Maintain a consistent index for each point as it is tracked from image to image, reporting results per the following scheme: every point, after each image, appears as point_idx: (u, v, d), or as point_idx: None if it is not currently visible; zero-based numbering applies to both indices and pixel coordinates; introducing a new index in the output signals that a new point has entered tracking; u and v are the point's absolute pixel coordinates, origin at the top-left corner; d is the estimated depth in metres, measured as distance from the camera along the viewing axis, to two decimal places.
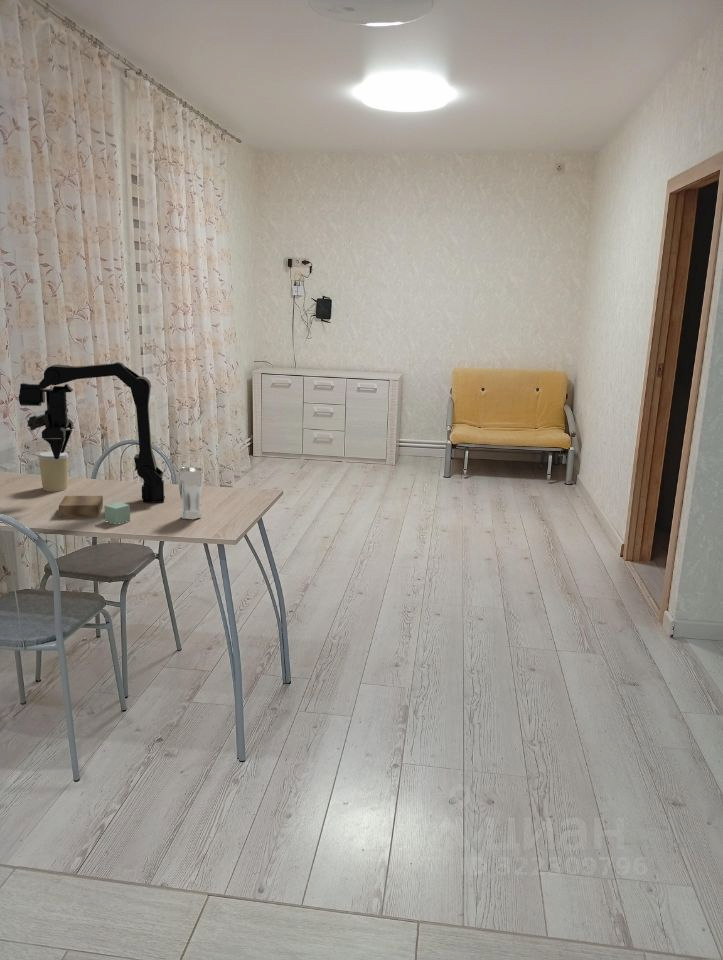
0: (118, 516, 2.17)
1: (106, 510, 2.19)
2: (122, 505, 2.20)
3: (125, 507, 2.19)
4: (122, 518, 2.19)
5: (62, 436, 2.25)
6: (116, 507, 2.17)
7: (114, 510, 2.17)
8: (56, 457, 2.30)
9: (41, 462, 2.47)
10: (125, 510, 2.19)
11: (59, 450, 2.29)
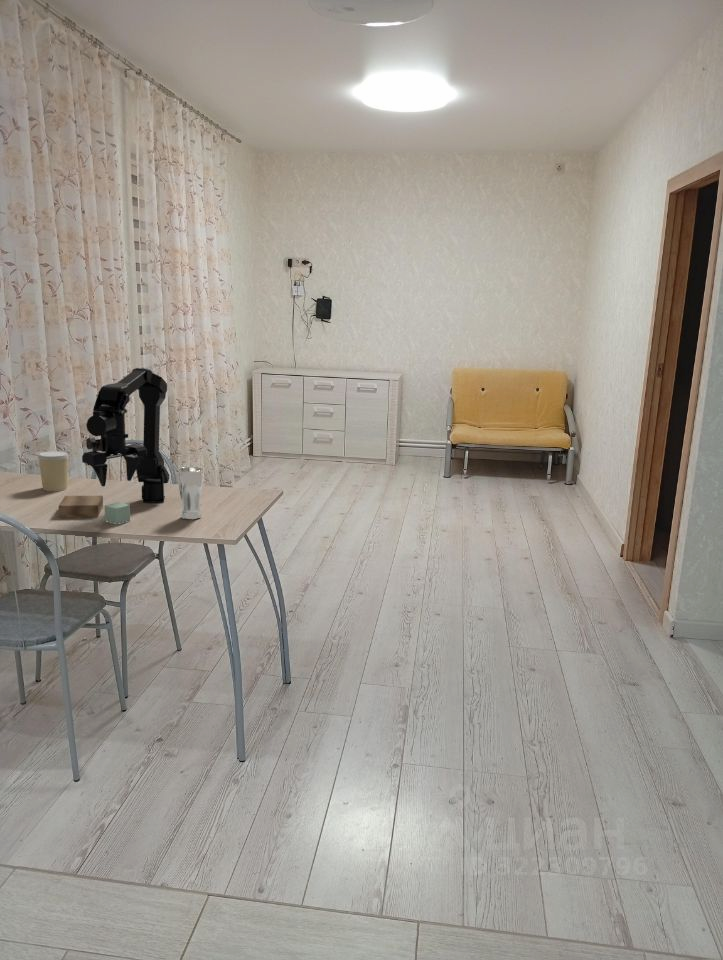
0: (118, 516, 2.17)
1: (106, 510, 2.19)
2: (122, 505, 2.20)
3: (125, 507, 2.19)
4: (122, 518, 2.19)
5: (95, 463, 2.07)
6: (116, 507, 2.17)
7: (114, 510, 2.17)
8: (102, 484, 2.14)
9: (41, 462, 2.47)
10: (125, 510, 2.19)
11: (102, 477, 2.12)
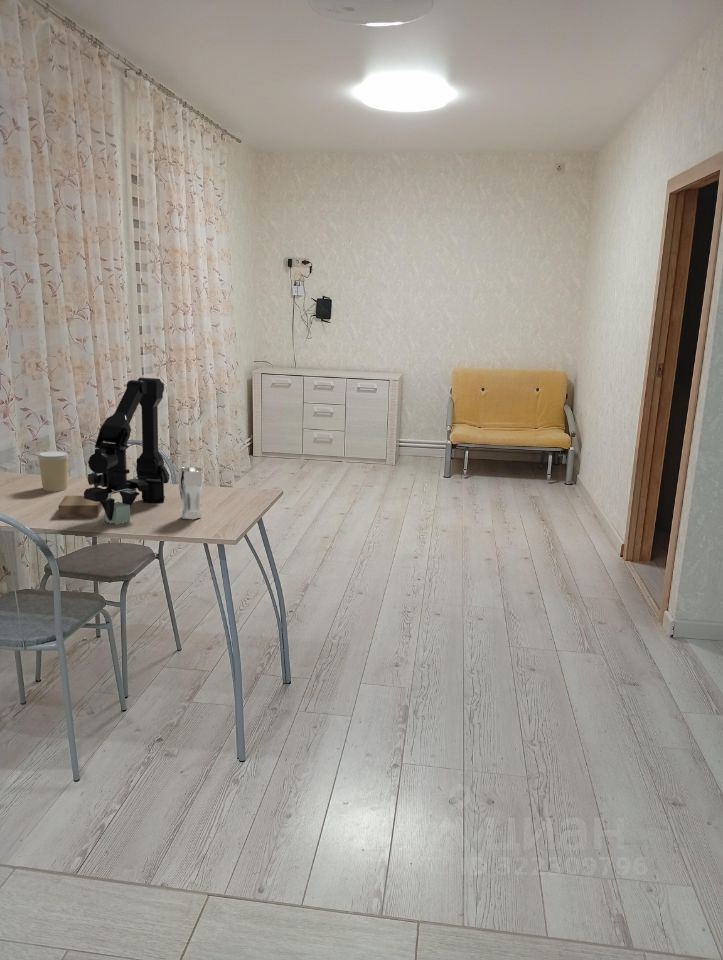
0: (118, 516, 2.17)
1: None
2: (122, 505, 2.20)
3: (125, 506, 2.19)
4: (122, 518, 2.19)
5: (97, 499, 2.10)
6: (116, 507, 2.17)
7: (114, 510, 2.17)
8: (109, 518, 2.18)
9: (41, 462, 2.47)
10: (125, 509, 2.19)
11: (109, 511, 2.16)
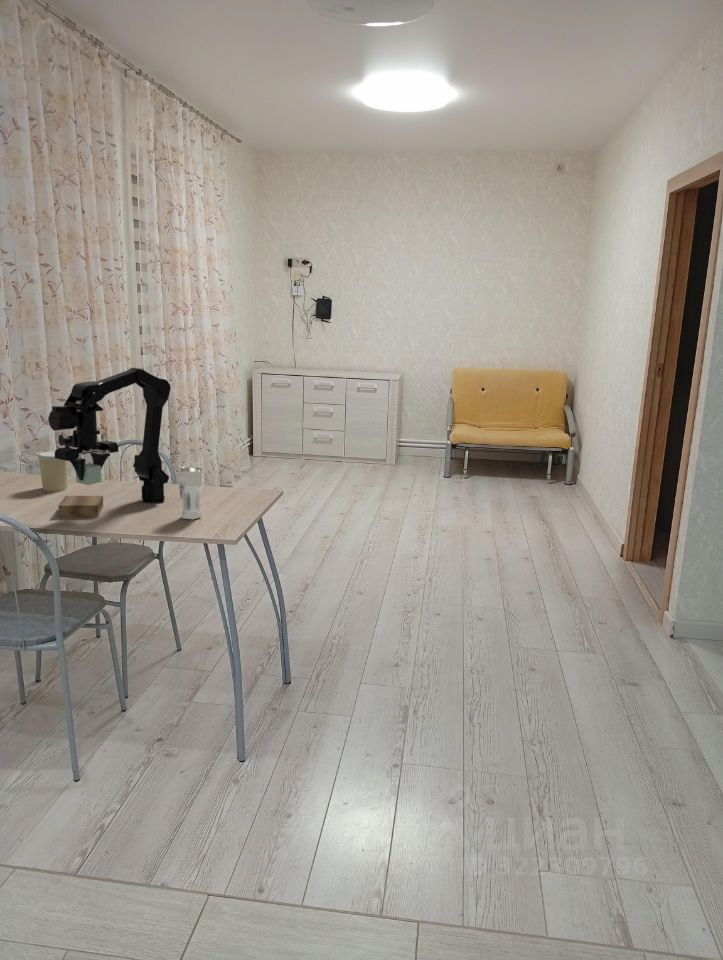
0: (89, 476, 2.21)
1: None
2: (93, 465, 2.23)
3: (96, 467, 2.22)
4: (93, 478, 2.22)
5: (67, 458, 2.13)
6: (87, 467, 2.21)
7: (85, 470, 2.20)
8: (80, 478, 2.21)
9: (41, 462, 2.47)
10: (96, 470, 2.22)
11: (80, 471, 2.19)
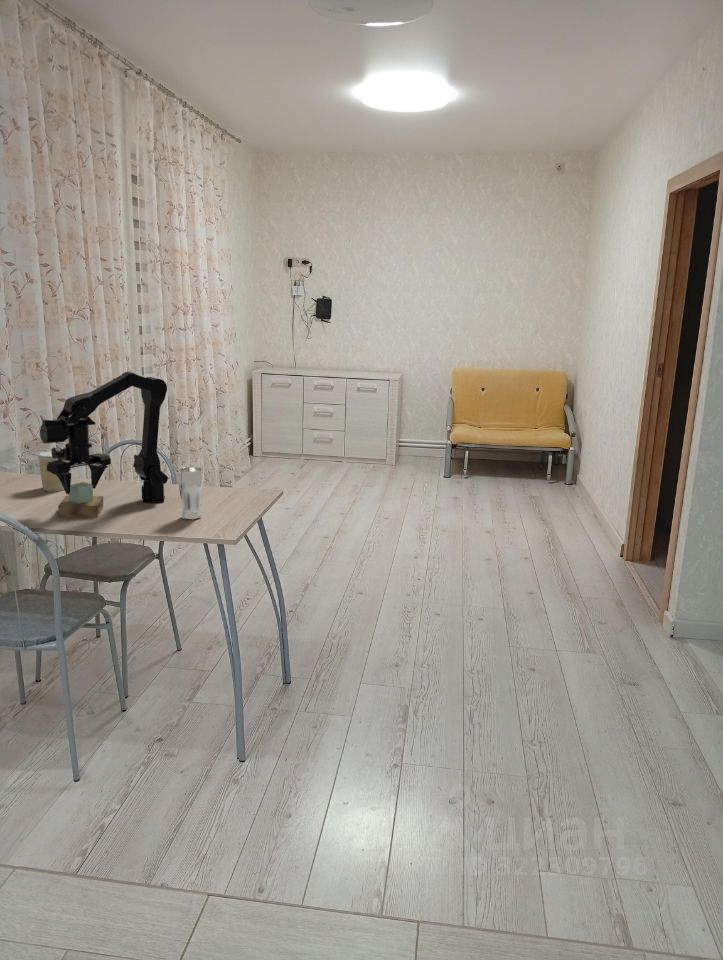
0: (80, 495, 2.24)
1: None
2: (85, 484, 2.26)
3: (87, 486, 2.26)
4: (85, 497, 2.26)
5: (59, 472, 2.16)
6: (79, 486, 2.24)
7: (77, 489, 2.23)
8: (67, 492, 2.23)
9: (41, 462, 2.47)
10: (88, 489, 2.26)
11: (66, 485, 2.21)
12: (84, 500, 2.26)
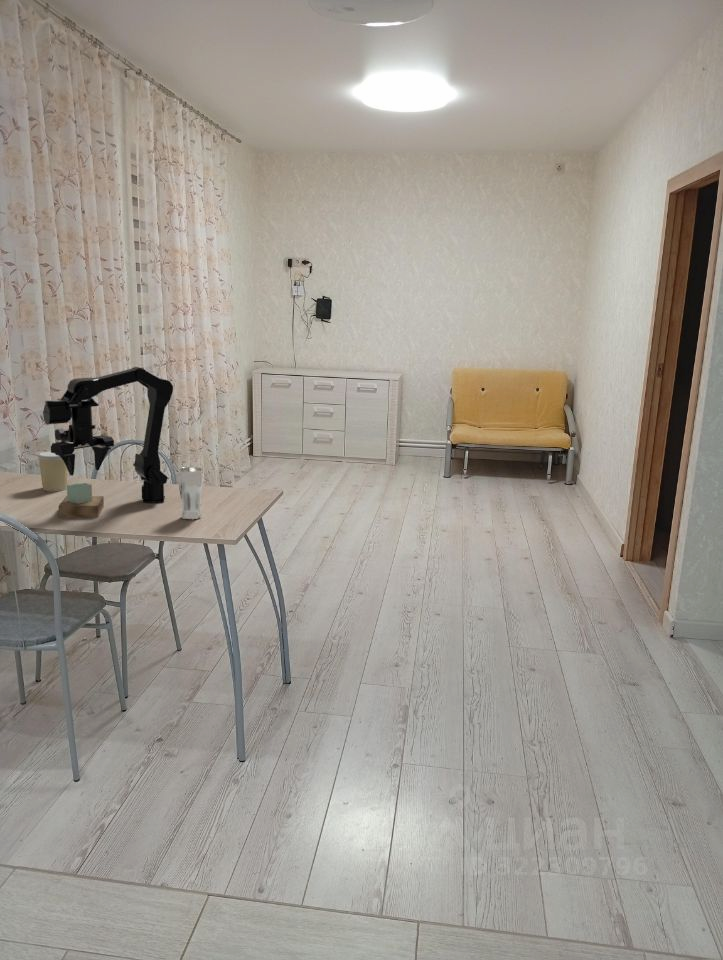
0: (80, 495, 2.24)
1: (68, 489, 2.25)
2: (84, 484, 2.26)
3: (86, 486, 2.26)
4: (84, 497, 2.26)
5: (63, 453, 2.17)
6: (78, 486, 2.24)
7: (76, 489, 2.23)
8: (71, 473, 2.24)
9: (41, 462, 2.47)
10: (87, 489, 2.26)
11: (70, 467, 2.22)
12: (83, 500, 2.26)
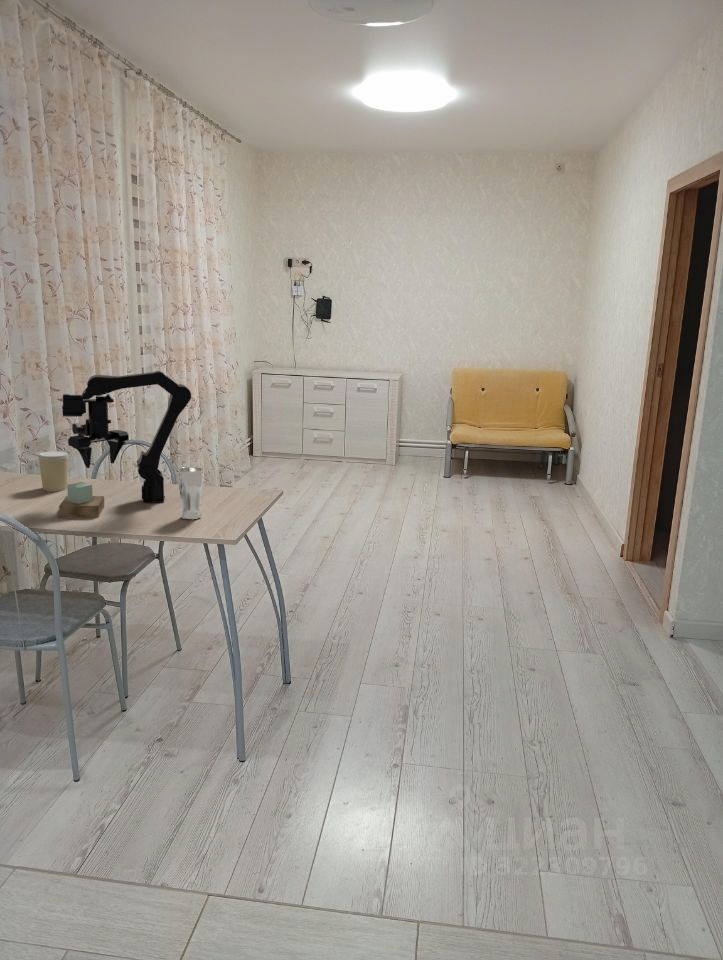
0: (80, 495, 2.24)
1: (68, 489, 2.25)
2: (84, 484, 2.26)
3: (87, 486, 2.25)
4: (85, 497, 2.25)
5: (80, 446, 2.26)
6: (78, 486, 2.24)
7: (76, 489, 2.23)
8: (87, 466, 2.32)
9: (41, 462, 2.47)
10: (87, 489, 2.26)
11: (86, 459, 2.30)
12: (84, 500, 2.25)
